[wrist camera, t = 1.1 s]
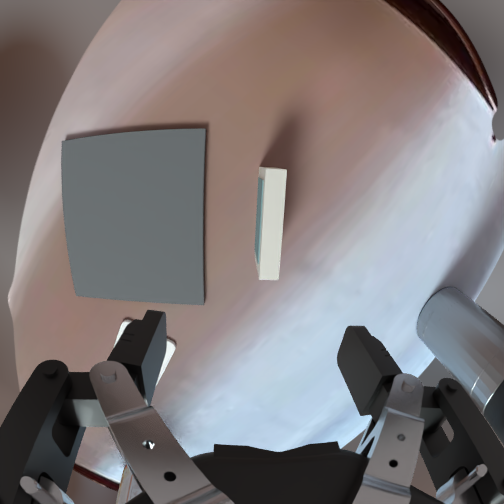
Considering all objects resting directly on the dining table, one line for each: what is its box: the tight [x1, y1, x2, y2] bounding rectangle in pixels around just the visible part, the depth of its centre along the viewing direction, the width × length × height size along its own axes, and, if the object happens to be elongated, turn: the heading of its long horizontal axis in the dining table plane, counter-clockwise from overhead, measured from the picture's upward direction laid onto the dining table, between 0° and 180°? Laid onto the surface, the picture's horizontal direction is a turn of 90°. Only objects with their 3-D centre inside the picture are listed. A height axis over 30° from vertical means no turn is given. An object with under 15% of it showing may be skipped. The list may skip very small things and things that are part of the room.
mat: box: [61, 129, 206, 305], centre depth 26 cm, size 16×18×1 cm
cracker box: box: [116, 465, 142, 504], centre depth 32 cm, size 14×6×21 cm, turn 149°
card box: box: [255, 167, 287, 280], centre depth 25 cm, size 2×9×6 cm, turn 177°
